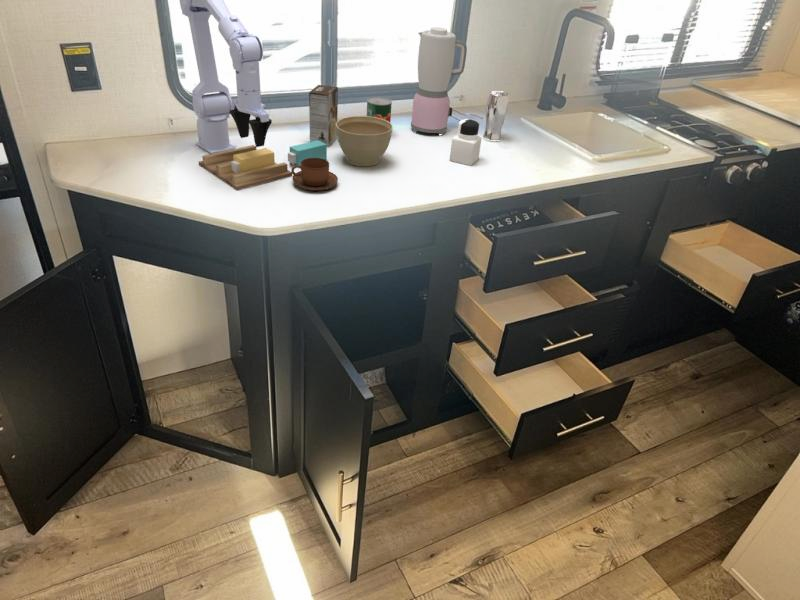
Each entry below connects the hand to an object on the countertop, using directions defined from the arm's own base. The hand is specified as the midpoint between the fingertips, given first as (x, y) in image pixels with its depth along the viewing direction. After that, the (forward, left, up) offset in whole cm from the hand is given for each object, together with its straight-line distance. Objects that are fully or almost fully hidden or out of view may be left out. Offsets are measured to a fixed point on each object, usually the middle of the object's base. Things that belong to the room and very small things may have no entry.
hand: (252, 141), depth 158 cm
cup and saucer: (+14, +10, -10) cm, 20 cm away
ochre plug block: (0, 0, -8) cm, 8 cm away
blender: (0, +70, -10) cm, 70 cm away
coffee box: (-11, +32, -10) cm, 35 cm away
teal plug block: (0, +18, -10) cm, 20 cm away
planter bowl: (+8, +32, -10) cm, 34 cm away
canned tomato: (-7, +51, -10) cm, 52 cm away
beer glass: (+16, +82, -10) cm, 84 cm away
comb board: (-4, 0, -9) cm, 10 cm away
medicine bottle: (+24, +59, -10) cm, 64 cm away
